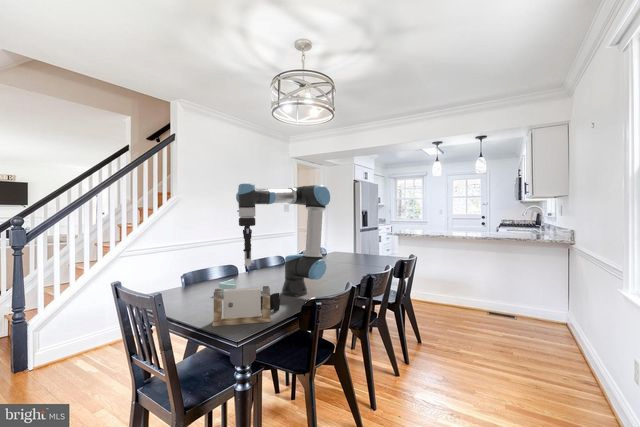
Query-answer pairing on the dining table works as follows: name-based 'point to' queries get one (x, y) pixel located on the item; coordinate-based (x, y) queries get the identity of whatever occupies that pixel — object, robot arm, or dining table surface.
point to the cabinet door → (242, 302)
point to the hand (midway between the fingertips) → (247, 263)
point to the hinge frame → (220, 321)
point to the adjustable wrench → (273, 301)
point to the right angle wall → (227, 285)
